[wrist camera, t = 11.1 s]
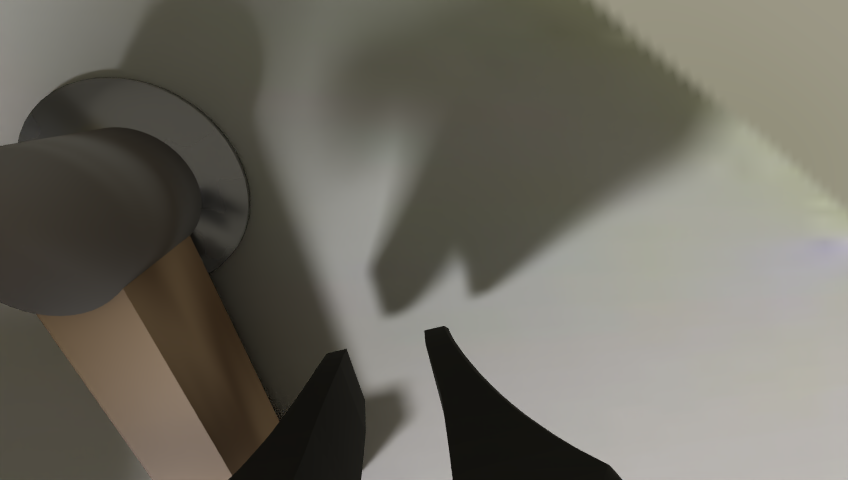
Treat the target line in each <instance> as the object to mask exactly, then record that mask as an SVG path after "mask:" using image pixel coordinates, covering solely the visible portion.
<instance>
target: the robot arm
mask: <svg viewBox="0 0 848 480" xmlns="http://www.w3.org/2000/svg"><path fill="white" fill-rule="evenodd" d="M425 343H426V347H427V351H428V355H429V359H430V363H431V366H432V370H433V374H434V378H435V381H436V385H437V389H438V393H439V397H440V400H441V404H442V408H443V412H444V417H445V424H446V431H447V438H448V445H449V453H450V461H451V469H452V477H453V480H622V479H621V478H620V477H619V475H618V474H617V473H616V472H615V471H614V470H613V468H612V467H611V466H610V465H608V464H606V463H604V462H602V461H600V460H598V459H596V458H594V457H592V456H591V455H589V454H587V453H585V452H583V451H581V450H579V449H577V448H575V447H574V446H572V445H570V444H569V443H567V442H565V441H564V440H562V439H560V438H559V437H557V436H556V435H554V434H552V433H551V432H550V431H548V430H547V429H545V428H544V427H542V426H541V425H539V424H538V423H537V422H535V421H534V420H532V419H531V418H529V417H528V416H527V415H525V414H524V413H523V412H521V411H520V410H519V409H518V408H516V407H515V406H514V405H513V404H511V403H510V402H509V401H508V400H507V399H506V398H505V397H503V396H502V395H501V394H500V393H499V392H498V391H497V390H496V389H495V388H494V387H493V386H492V385H491V384H490V383H489V382H488V381H487V380H486V379H485V378H484V377H483V376H482V375H481V374H480V373H479V372H478V371H477V369H476V368H475V367H474V366H473V365H472V364H471V362H470V361H469V360H468V359H467V358H466V356H465V355H464V354H463V352H462V351H461V350H460V348H459V347H458V345H457V344H456V342H455V341H454V339H453V337H452V335H451V333H450V331H449V329H448V328H447V327H445V326H442V327H437V328H433V329H429V330H425ZM365 433H366V426H365V399H364V396H363V394H362V391H361V388H360V385H359V382H358V380H357V377H356V374H355V371H354V369H353V366H352V363H351V360H350V357H349V355H348V352H347V349H344V350H340V351H336V352H332V353H327V354H326V356H325V357H324V359H323V360H322V362H321V363H320V364H319V366H318V367H317V369H316V370H315V372H314V373H313V375H312V377H311V378H310V380H309V381H308V383H307V384H306V386H305V387H304V389H303V390H302V391H301V393H300V394H299V396H298V397H297V399H296V400H295V401H294V403H293V404H292V406H291V407H290V408H289V410H288V411H287V412H286V414H285V415H284V416H283V418H282V419H281V420H280V422H279V423H278V424H277V426H276V427H275V428H274V429H273V431H272V432H271V433H270V435H269V436H268V437H267V438H266V439H265V441H264V442H263V443H262V444H261V445H260V446H259V448H258V449H257V450H256V451H255V452H254V453H253V454H252V455H251V456H250V458H249V459H248V460H247V461H246V462H245V463H244V464H243V465H242V466H241V467H240V468H239V469H238V471H236V472H235V473H234V474H233V475H232V476H231V477H230V478H229V479H228V480H361V475H362V465H363V455H364V444H365Z"/></svg>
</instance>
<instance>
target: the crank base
mask: <svg viewBox="0 0 848 480" xmlns="http://www.w3.org/2000/svg"><path fill="white" fill-rule="evenodd" d="M108 127H122V128H130V129H134V130H138V131H141V132H144V133H147V134H149V135H151V136H153V137H156V138H157V139H159V140H161V141H162V142H164V143H166V144H167V145H168V146H170V147H171V148H172V149H173V150H174V151H176V152H177V153H178V154H179V155H180V156H181V157H182V159H183V160H184V161H185V162H186V163H187V165H188V166H189V168H190V169H191V170H192V172H193V174H194V176H195V178H196V180H197V183H198V186H199V189H200V193H201V201H202V208H201V215H200V219H199V222H198V224H197V226H196V228H195V230H194V231H193V233H192V234H191V235H190V237H191V239H192V241H193V243H194V245H195V247H196V249H197V251H198V253H199V256H200V258H201V260H202V262H203V264H204V266H205V268H206V270H207V272H208V273H210V272H212V271H213V270H215V269H216V268H218V267H219V266H220V265H221V264H222V263H223V262H225V261H226V260H227V259H228V257H229V256H230V255H231V254H232V253H233V252H234V250H235V249H236V248H237V246H238V244H239V243H240V241H241V240H242V237H243V235H244V232H245V230H246V227H247V223H248V219H249V211H250V193H249V187H248V182H247V178H246V175H245V172H244V169H243V166H242V164H241V162H240V159H239V157H238V155H237V153H236V151H235V150H234V148H233V147H232V145H231V143H230V142H229V140H228V139H227V138H226V136H225V135H224V134H223V133H222V131H221V130H220V129H219V128H218V127H217V126H216V125H215V124H214V123H213V122H212V121H211V120H210V119H209V118H208V117H207V116H206V115H205V114H204V113H202V112H201V111H200V110H199V109H198V108H196V107H195V106H194V105H192V104H191V103H189V102H187V101H186V100H184V99H183V98H181V97H180V96H178V95H175V94H173V93H171V92H169V91H167V90H165V89H163V88H160V87H157V86H155V85H152V84H149V83H145V82H141V81H137V80H132V79H123V78H93V79H87V80H81V81H77V82H74V83H71V84H68V85H65V86H63V87H61V88H59V89H57V90H55V91H53V92H52V93H50V94H49V95H48V96H46V97H45V98H44V99H42V100H41V101H40V102H39V103H38V104H37V106H36V107H35V108H34V109H33V110H32V111H31V113H30V114H29V116H28V117H27V119H26V121H25V122H24V125H23V127H22V130H21V132H20V135H19V140H18V143H21V142H27V141H33V140H38V139H44V138H50V137H56V136H61V135H67V134H73V133H79V132H84V131H90V130H96V129H102V128H108Z"/></svg>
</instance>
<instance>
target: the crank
mask: <svg viewBox="0 0 848 480" xmlns="http://www.w3.org/2000/svg"><path fill="white" fill-rule="evenodd" d="M201 208H202V201H201V193H200V189H199V186H198V183H197V180H196V178H195V176H194V174H193V172H192V170H191V169H190V168H189V166H188V165H187V163H186V162H185V161H184V160H183V159H182V157H181V156H180V155H179V154H178V153H177V152H176V151H174V150H173V149H172V148H171V147H170V146H168V145H167V144H166V143H164V142H162V141H161V140H159V139H157V138H156V137H153V136H151V135H149V134H147V133H144V132H141V131H138V130H134V129H130V128H122V127H108V128H102V129H96V130H90V131H84V132H79V133H73V134H67V135H61V136H56V137H50V138H44V139H38V140H33V141H27V142H21V143H15V144H10V145H4V146H0V302H1V303H3V304H6V305H8V306H10V307H13V308H16V309H19V310H22V311H26V312H30V313H34V314H36V315H37V316H38V318H39V319H40V320H41V322H42V323H43V325H44V326H45V328H46V329H47V330H48V332H49V333H50V335H51V336H52V338H53V339H54V340H55V342H56V343H57V345H58V346H59V348H60V349H61V350H62V352H63V353H64V355H65V356H66V358H67V359H68V360H69V362H70V363H71V365H72V366H73V367H74V369H75V370H76V372H77V373H78V375H79V376H80V377H81V379H82V380H83V382H84V383H85V385H86V386H87V387H88V389H89V390H90V392H91V393H92V395H93V396H94V397H95V399H96V400H97V402H98V403H99V405H100V406H101V407H102V409H103V410H104V412H105V413H106V415H107V416H108V417H109V419H110V420H111V422H112V423H113V425H114V426H115V427H116V429H117V430H118V432H119V433H120V435H121V436H122V437H123V439H124V440H125V442H126V443H127V445H128V446H129V447H130V449H131V450H132V452H133V453H134V454H135V456H136V457H137V459H138V460H139V462H140V463H141V464H142V466H143V467H144V469H145V470H146V472H147V473H148V474H149V476H150V477H151V479H152V480H228V479H229V478H230V477H231V476H232V475H233V474H234V473H235V472H236V471H238V469H239V468H240V467H241V466H242V465H243V464H244V463H245V462H246V461H247V460H248V459H249V458H250V456H251V455H252V454H253V453H254V452H255V451H256V450H257V449H258V448H259V446H260V445H261V444H262V443H263V442H264V441H265V439H266V438H267V437H268V436H269V435H270V433H271V432H272V431H273V429H274V428H275V427H276V426H277V424H278V423H279V420H278V417H277V415H276V413H275V411H274V409H273V407H272V405H271V403H270V401H269V399H268V397H267V395H266V393H265V390H264V388H263V386H262V384H261V382H260V380H259V378H258V376H257V374H256V372H255V370H254V368H253V366H252V363H251V361H250V359H249V357H248V355H247V353H246V351H245V349H244V347H243V345H242V343H241V341H240V339H239V336H238V334H237V332H236V330H235V328H234V326H233V324H232V322H231V320H230V318H229V316H228V314H227V312H226V309H225V307H224V305H223V303H222V301H221V299H220V297H219V295H218V293H217V291H216V289H215V287H214V285H213V283H212V280H211V278H210V276H209V274H208V272H207V270H206V268H205V266H204V264H203V262H202V260H201V258H200V256H199V253H198V251H197V249H196V247H195V245H194V243H193V241H192V239H191V237H190V235H191V234H192V233H193V231H194V230H195V228H196V226H197V224H198V222H199V219H200V215H201Z"/></svg>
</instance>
